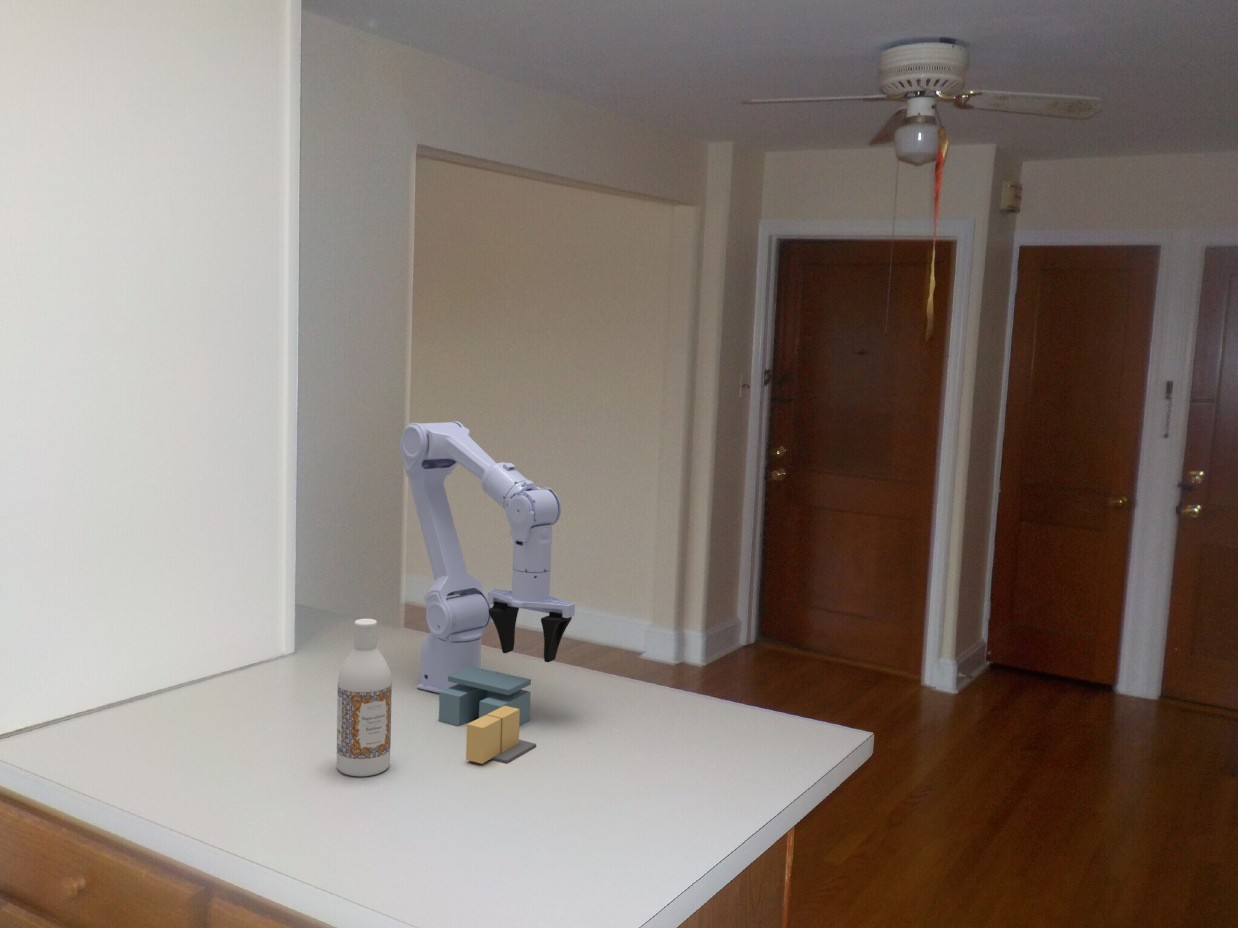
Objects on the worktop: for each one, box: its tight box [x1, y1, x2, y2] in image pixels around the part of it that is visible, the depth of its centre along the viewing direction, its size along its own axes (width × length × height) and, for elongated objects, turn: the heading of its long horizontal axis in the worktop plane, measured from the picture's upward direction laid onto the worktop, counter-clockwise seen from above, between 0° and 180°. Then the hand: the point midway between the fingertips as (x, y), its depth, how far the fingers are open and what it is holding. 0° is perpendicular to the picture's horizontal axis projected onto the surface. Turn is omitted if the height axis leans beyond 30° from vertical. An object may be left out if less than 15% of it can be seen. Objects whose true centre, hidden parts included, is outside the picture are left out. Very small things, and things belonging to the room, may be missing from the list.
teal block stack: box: [438, 666, 532, 727], centre depth 164 cm, size 11×8×6 cm
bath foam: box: [336, 618, 393, 777], centre depth 144 cm, size 7×7×20 cm
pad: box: [490, 739, 537, 764], centre depth 153 cm, size 6×7×1 cm
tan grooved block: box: [465, 706, 520, 764], centre depth 151 cm, size 3×9×5 cm, turn 152°
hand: (528, 655), depth 166 cm, fingers open, 7 cm apart
